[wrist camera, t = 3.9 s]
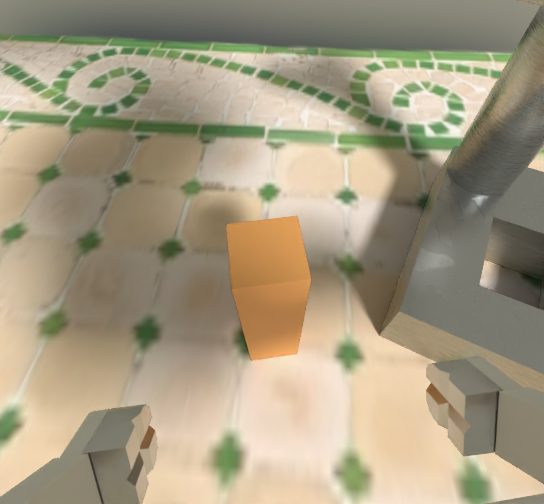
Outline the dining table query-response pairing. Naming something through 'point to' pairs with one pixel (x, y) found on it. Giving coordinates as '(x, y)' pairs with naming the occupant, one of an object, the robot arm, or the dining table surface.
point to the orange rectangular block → (269, 283)
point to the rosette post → (483, 233)
